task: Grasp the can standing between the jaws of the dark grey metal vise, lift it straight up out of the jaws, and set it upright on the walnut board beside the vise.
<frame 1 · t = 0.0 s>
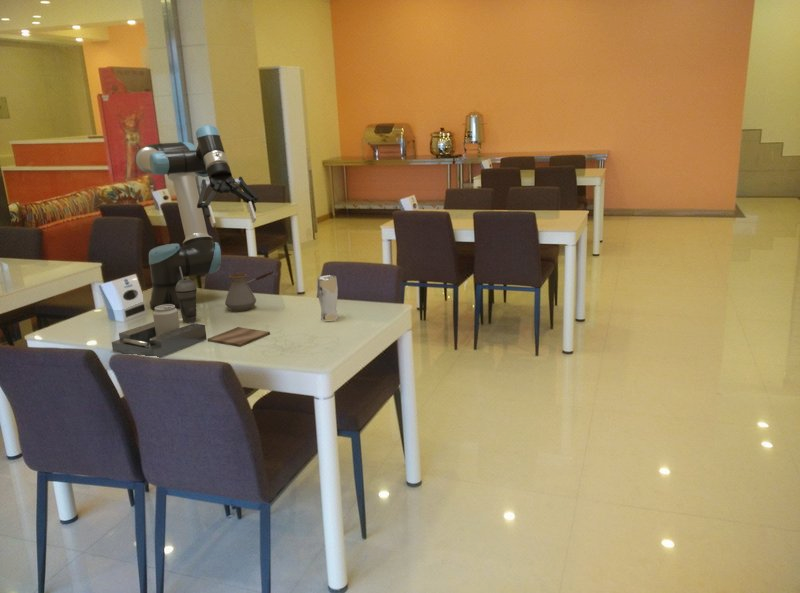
hand: (234, 222, 226), 36 cm above the table, tool tilted 35°, fingers open, 13 cm apart
can: (169, 342, 223), resting in vise
vise: (169, 342, 223), on the table
beer glass: (329, 319, 242), on the table
beverage cup: (189, 322, 246), on the table
coffee pot: (253, 309, 259), on the table
walnut board: (239, 337, 225), on the table
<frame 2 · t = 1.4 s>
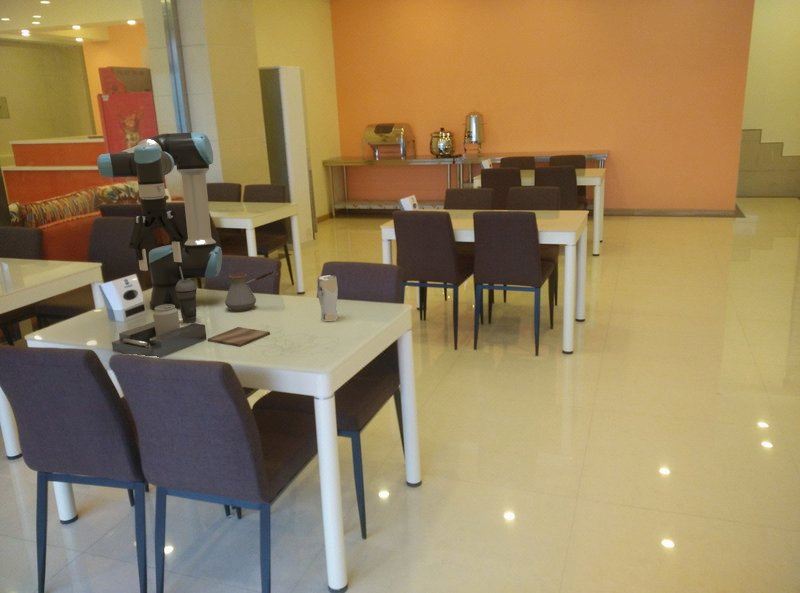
hand: (161, 266, 217), 25 cm above the table, tool pointing down, fingers open, 13 cm apart
nothing on the table moved.
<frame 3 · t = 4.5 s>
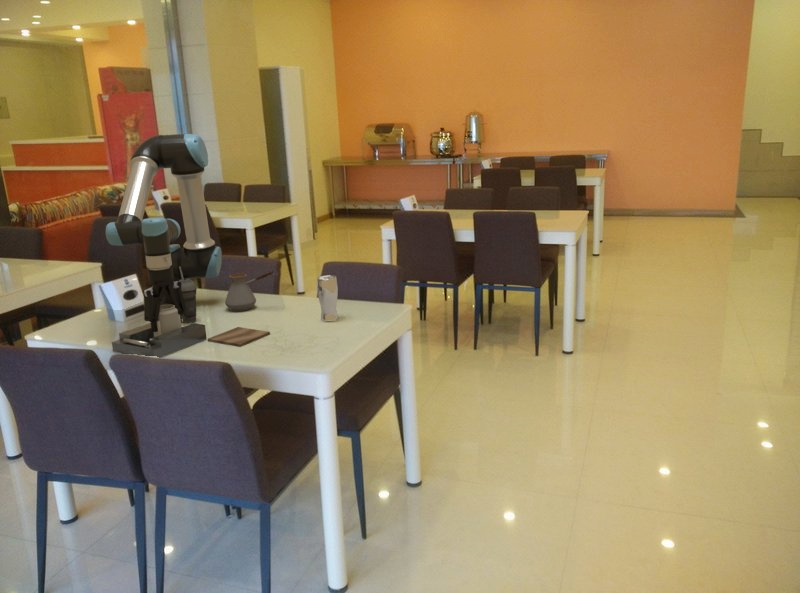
hand: (168, 337, 223), 2 cm above the table, tool pointing down, fingers closed on can, 7 cm apart
can: (169, 342, 223), resting in vise, touching gripper
everything else where it was.
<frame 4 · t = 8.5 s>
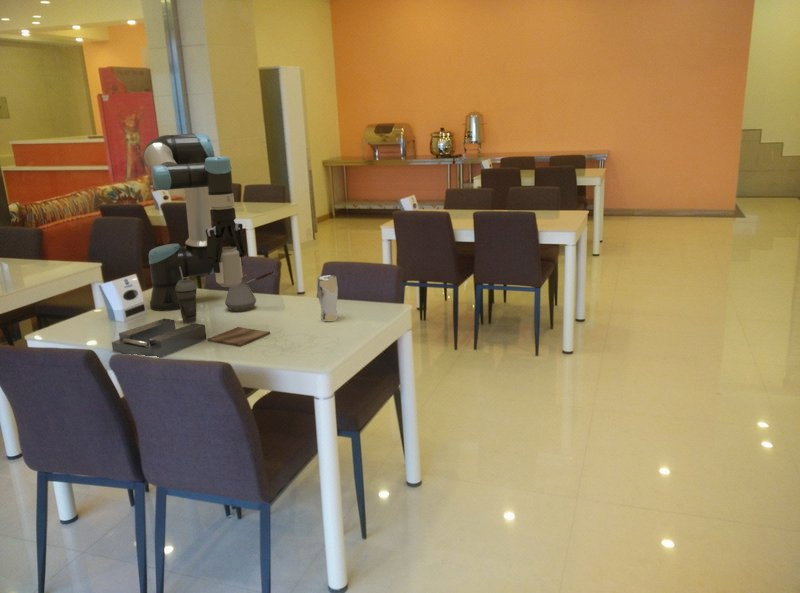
hand: (229, 279, 220), 19 cm above the table, tool pointing down, fingers closed on can, 7 cm apart
can: (230, 285, 220), point 17 cm above the table, touching gripper
everything else where it was.
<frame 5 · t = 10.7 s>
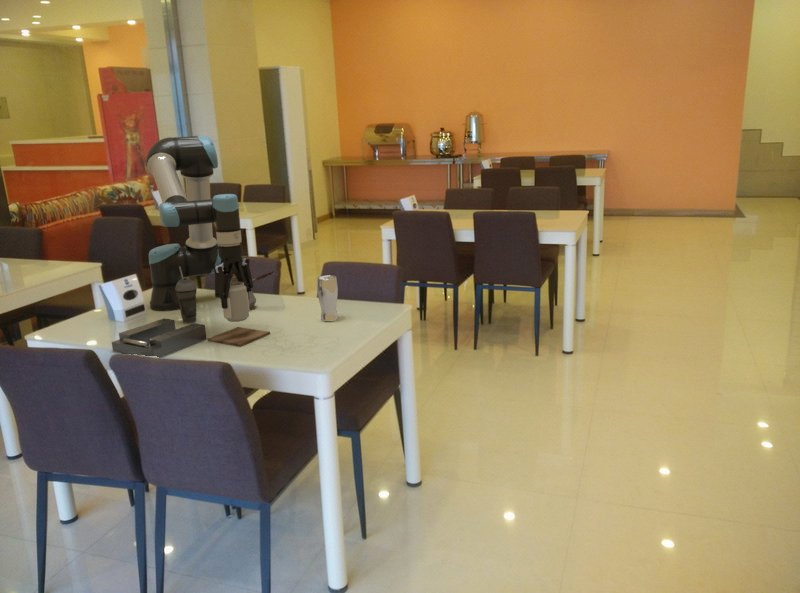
hand: (237, 314, 223), 8 cm above the table, tool pointing down, fingers closed on can, 7 cm apart
can: (237, 320, 223), point 6 cm above the table, touching gripper
everything else where it was.
when the fingers open (4 cm above the table, at t = 12.4 s): can drops 1 cm, resting on walnut board.
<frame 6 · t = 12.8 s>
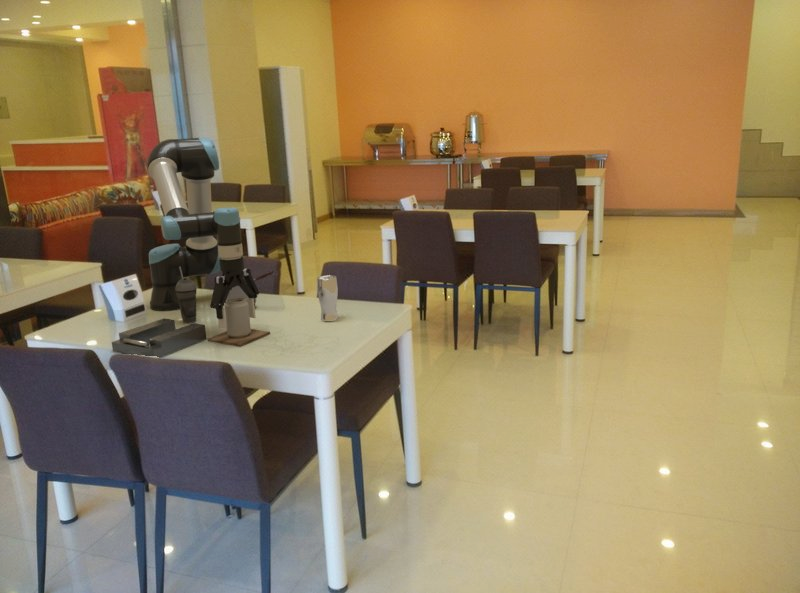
hand: (237, 322, 224), 5 cm above the table, tool pointing down, fingers open, 12 cm apart
can: (239, 335, 225), point 1 cm above the table, touching walnut board
everything else where it was.
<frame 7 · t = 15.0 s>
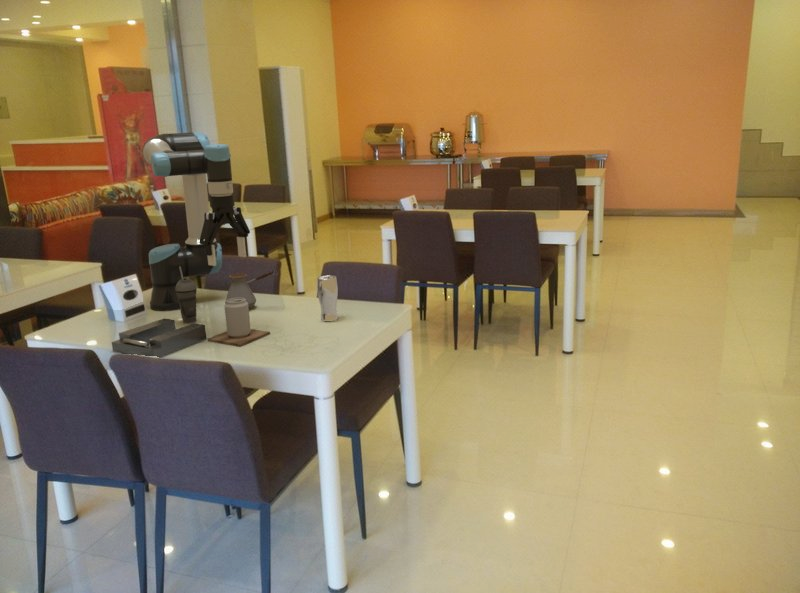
hand: (227, 260, 223), 25 cm above the table, tool pointing down, fingers open, 13 cm apart
nothing on the table moved.
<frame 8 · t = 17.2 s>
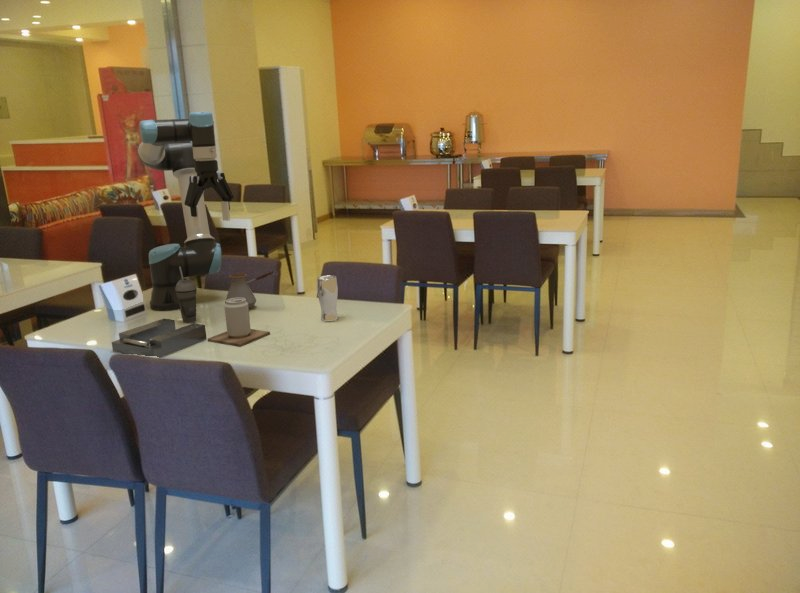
hand: (212, 223, 236), 35 cm above the table, tool pointing down, fingers open, 13 cm apart
nothing on the table moved.
at the end: can inside the target area on the walnut board (0.2 cm from its centre), point 0.6 cm above the walnut board's base; can tilted 0°; the gripper is holding nothing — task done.
